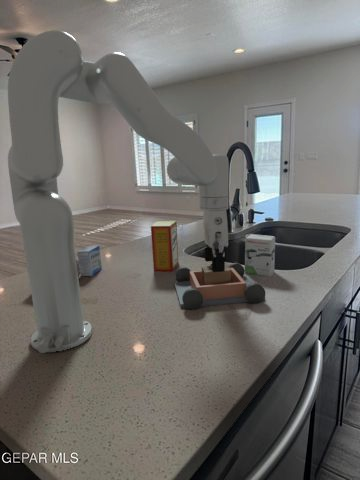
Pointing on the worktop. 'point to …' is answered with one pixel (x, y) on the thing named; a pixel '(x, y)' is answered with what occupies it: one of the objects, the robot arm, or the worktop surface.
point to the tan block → (215, 276)
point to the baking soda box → (164, 246)
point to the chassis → (216, 289)
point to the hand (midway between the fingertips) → (214, 265)
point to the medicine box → (89, 260)
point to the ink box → (259, 254)
